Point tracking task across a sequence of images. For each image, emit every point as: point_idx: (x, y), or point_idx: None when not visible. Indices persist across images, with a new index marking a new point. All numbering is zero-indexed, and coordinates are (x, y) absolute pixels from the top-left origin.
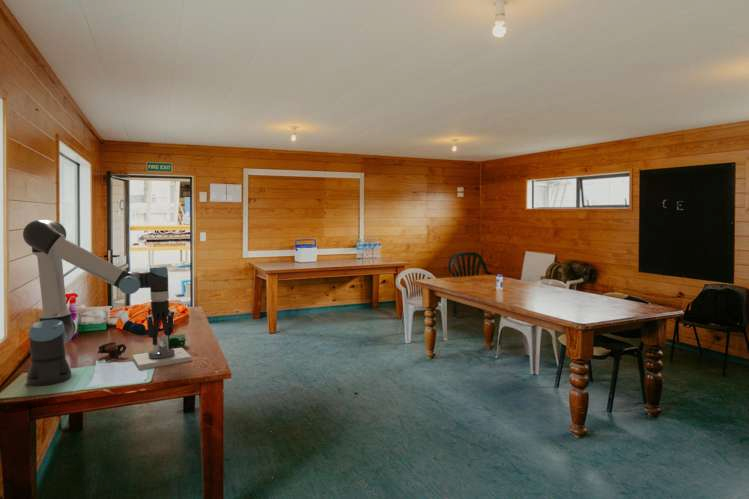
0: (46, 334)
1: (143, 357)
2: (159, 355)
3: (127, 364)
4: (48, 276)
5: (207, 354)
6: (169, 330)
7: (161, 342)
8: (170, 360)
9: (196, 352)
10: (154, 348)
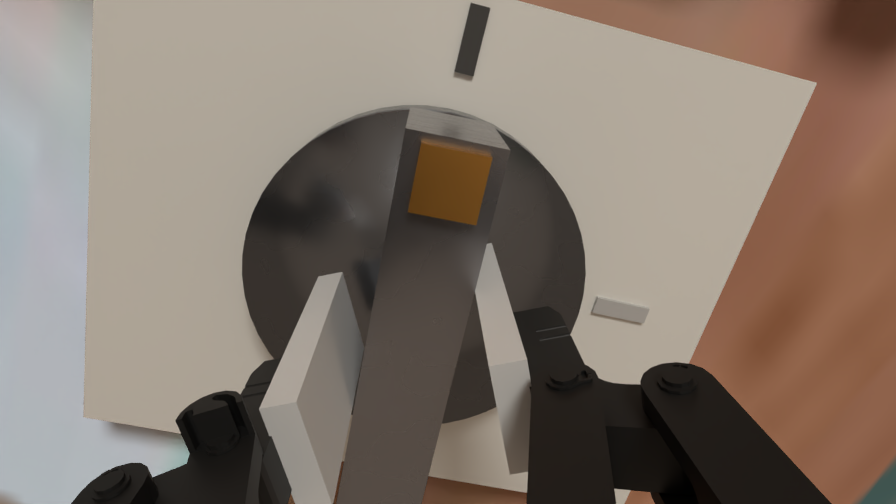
0: None
1: (207, 169)
2: None
3: (33, 111)
4: None
5: (841, 402)
6: (671, 457)
7: (449, 286)
8: None
9: (841, 254)
10: (311, 299)
